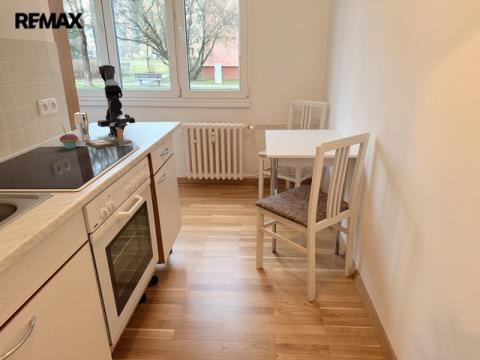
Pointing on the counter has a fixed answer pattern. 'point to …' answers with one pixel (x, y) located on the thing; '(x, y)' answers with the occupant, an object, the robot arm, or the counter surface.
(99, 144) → the block
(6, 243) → the counter surface
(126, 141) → the gray plate with block
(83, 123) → the beer glass
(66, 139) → the cupcake
